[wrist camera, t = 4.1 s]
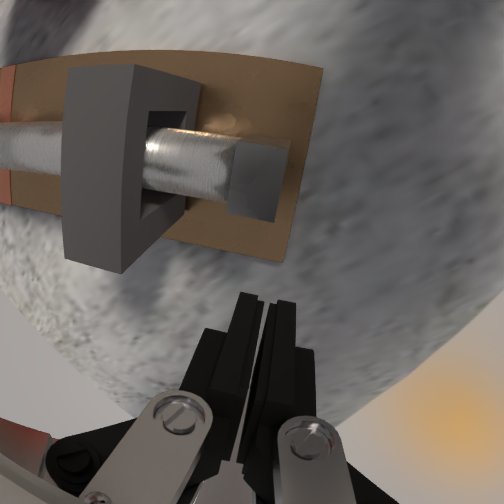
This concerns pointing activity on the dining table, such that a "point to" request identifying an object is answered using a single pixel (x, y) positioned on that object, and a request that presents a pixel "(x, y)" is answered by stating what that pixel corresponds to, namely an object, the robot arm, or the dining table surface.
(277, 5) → the dining table surface
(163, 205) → the collar
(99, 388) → the dining table surface
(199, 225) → the pipe rig
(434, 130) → the dining table surface
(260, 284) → the dining table surface
